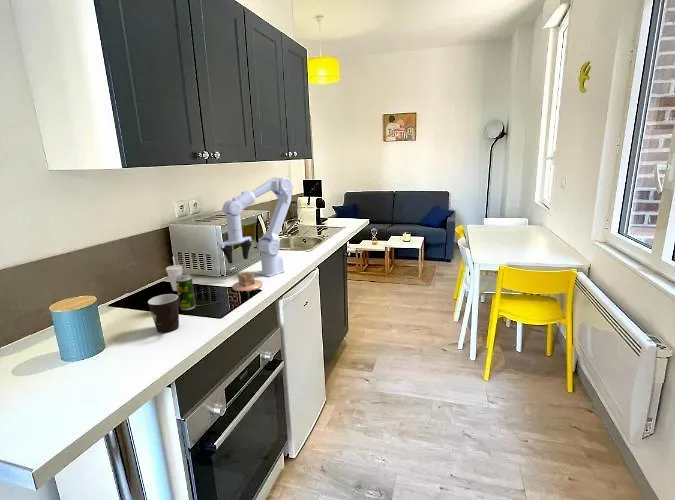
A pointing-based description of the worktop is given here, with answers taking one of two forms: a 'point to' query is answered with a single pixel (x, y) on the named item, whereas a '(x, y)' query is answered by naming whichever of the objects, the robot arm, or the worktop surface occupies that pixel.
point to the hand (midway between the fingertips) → (238, 260)
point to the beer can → (185, 292)
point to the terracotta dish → (250, 288)
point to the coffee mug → (165, 312)
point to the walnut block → (246, 279)
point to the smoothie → (174, 274)
